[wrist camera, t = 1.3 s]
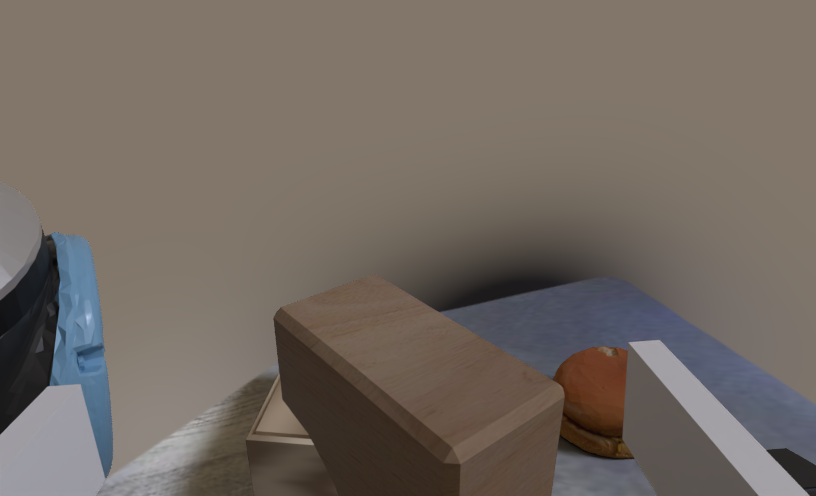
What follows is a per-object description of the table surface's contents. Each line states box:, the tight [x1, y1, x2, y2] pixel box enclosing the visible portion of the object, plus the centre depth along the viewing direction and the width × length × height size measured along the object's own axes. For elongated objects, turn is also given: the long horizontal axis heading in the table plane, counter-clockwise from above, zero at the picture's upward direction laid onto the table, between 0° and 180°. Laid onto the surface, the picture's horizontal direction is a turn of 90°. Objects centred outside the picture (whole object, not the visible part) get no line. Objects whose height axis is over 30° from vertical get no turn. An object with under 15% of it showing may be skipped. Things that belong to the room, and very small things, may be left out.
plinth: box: [246, 373, 339, 496], centre depth 44 cm, size 12×14×6 cm
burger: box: [554, 346, 634, 459], centre depth 47 cm, size 10×9×5 cm
